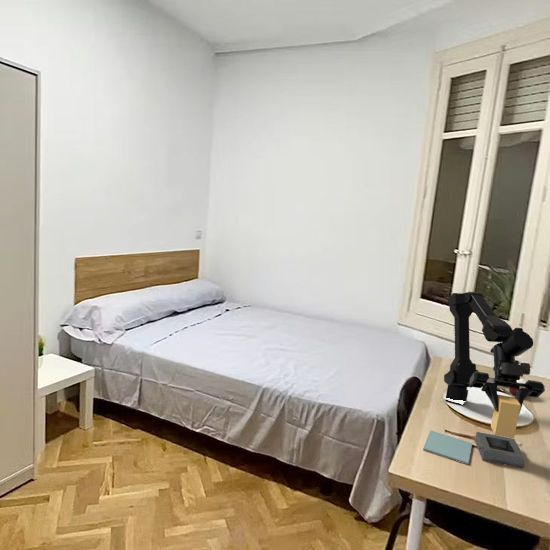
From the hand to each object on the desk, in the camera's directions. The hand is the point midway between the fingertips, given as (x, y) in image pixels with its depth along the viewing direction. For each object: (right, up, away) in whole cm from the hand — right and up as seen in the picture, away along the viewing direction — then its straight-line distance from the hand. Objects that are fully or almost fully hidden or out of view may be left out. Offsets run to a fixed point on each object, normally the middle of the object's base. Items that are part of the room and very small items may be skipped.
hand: (507, 413), depth 126 cm
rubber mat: (-15, -11, +5) cm, 19 cm away
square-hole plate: (-1, -13, +4) cm, 14 cm away
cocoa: (+28, -8, +47) cm, 55 cm away
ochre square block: (0, -6, +3) cm, 7 cm away
